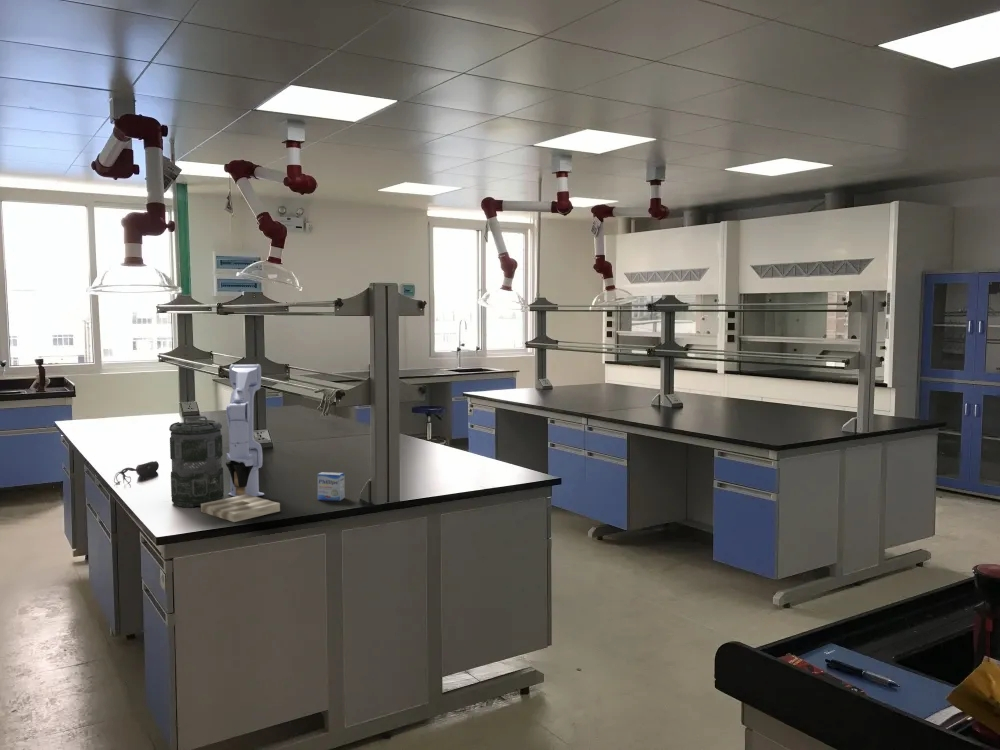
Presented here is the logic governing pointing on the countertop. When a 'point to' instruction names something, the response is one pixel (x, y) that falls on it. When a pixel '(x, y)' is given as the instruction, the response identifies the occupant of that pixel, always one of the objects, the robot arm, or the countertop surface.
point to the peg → (238, 489)
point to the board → (240, 507)
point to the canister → (196, 462)
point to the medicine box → (331, 486)
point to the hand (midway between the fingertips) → (239, 485)
